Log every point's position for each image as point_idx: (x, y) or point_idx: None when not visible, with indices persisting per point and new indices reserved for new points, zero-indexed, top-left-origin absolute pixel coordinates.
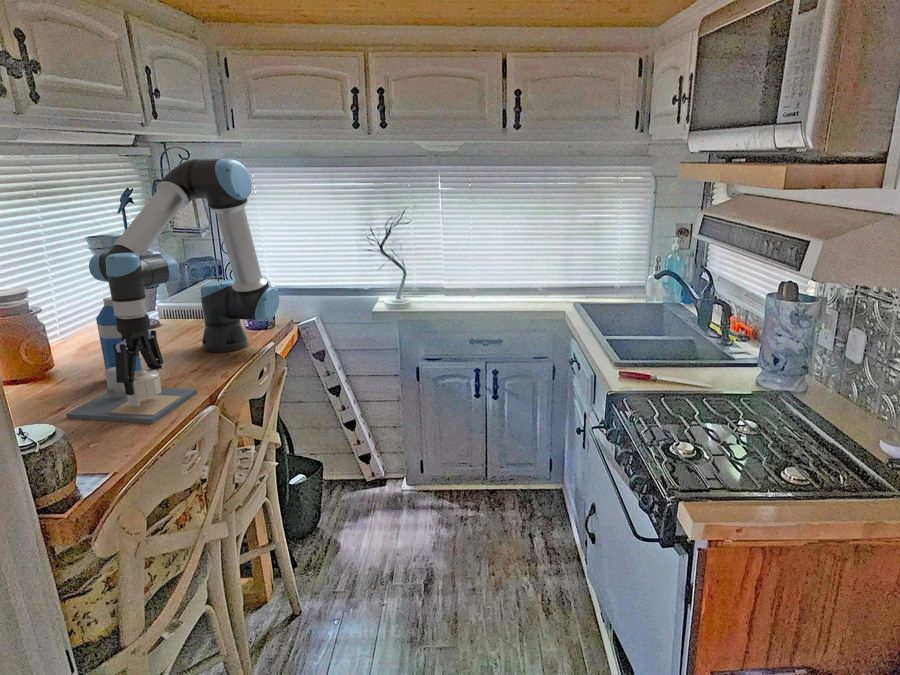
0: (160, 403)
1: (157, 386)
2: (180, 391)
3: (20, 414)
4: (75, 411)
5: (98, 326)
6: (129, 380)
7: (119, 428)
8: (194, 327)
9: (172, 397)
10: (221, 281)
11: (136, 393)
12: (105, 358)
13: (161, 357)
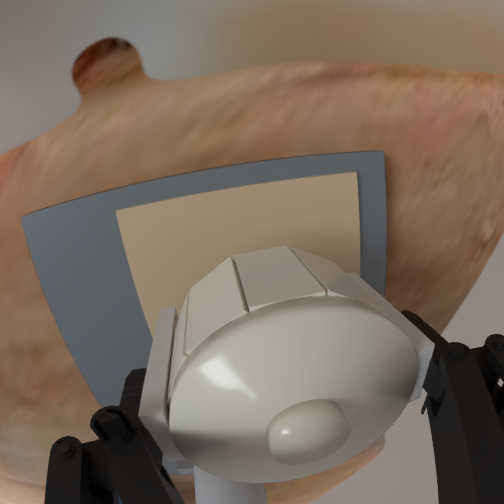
0: (232, 241)
1: (269, 269)
2: (66, 272)
3: (340, 482)
4: None
5: None
6: (470, 356)
7: (417, 247)
8: None
9: (143, 242)
10: None
11: (390, 304)
12: None
13: (50, 481)
